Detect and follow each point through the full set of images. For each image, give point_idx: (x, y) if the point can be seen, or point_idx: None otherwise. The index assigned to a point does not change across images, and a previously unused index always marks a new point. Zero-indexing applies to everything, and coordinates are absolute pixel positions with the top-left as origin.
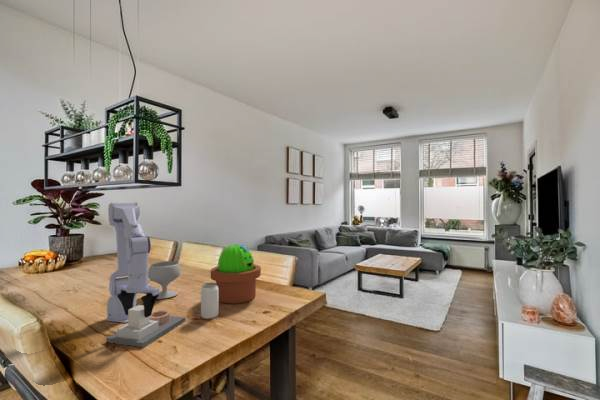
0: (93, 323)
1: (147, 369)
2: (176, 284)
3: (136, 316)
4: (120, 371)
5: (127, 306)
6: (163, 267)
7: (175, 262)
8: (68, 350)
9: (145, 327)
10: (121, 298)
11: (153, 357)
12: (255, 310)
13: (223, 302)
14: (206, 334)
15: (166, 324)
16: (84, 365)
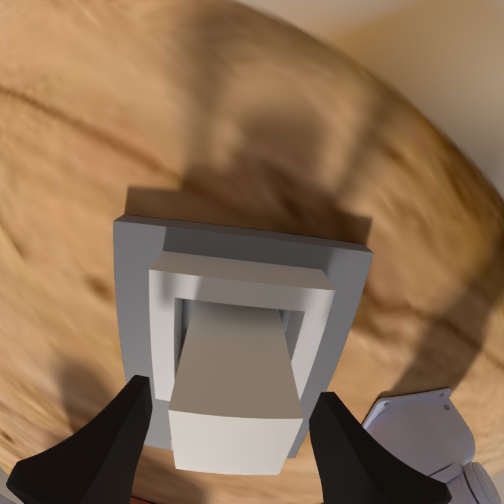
0: (474, 362)
1: (18, 78)
2: None
3: (210, 376)
4: (97, 28)
5: (337, 445)
6: None
7: None
8: (463, 163)
9: (159, 330)
10: (401, 489)
11: (35, 151)
12: (30, 450)
13: (134, 498)
14: (6, 342)
15: (160, 403)
16: (300, 31)
